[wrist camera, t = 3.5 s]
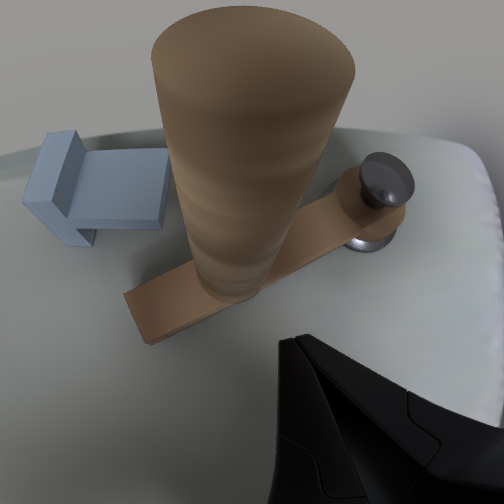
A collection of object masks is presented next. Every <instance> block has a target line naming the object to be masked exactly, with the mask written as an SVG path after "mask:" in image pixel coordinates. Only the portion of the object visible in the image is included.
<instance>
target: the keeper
mask: <svg viewBox="0 0 504 504" xmlns="http://www.w3.org/2000/svg"><path fill="white" fill-rule="evenodd" d="M170 171H171V162H170V157H169V152H168V148H144V149H116V150H97V151H86V149H85V147H84V145H83V143H82V141H81V139H80V137H79V135H78V133H77V131H76V130H70V131H61V132H53V133H47V135H46V137H45V140H44V142H43V144H42V147H41V149H40V152H39V154H38V157H37V159H36V162H35V164H34V167H33V170H32V172H31V175H30V178H29V181H28V184H27V187H26V190H25V193H24V196H23V199H22V203H23V204H24V205H25V206H26V207H27V208H28V209H29V210H30V211H31V212H32V213H33V214H34V215H35V216H36V217H37V218H38V219H39V220H40V221H41V222H42V223H43V224H44V225H45V226H46V227H47V228H48V229H49V230H50V231H51V232H52V233H53V234H54V235H55V236H56V237H57V238H59V239H60V240H61V241H62V242H63V243H64V244H65V245H66V246H86V247H92V246H93V240H94V235H95V230H96V229H140V230H162V228H163V220H164V212H165V204H166V197H167V190H168V184H169V177H170Z"/></svg>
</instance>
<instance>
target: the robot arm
mask: <svg viewBox="0 0 504 504" xmlns="http://www.w3.org/2000/svg"><path fill="white" fill-rule="evenodd" d="M267 504H504V428H498V427H494V426H490V425H487V424H485V423H482V422H479V421H476V420H474V419H471V418H468V417H466V416H463V415H460V414H458V413H455V412H453V411H450V410H448V409H445V408H443V407H441V406H438V405H436V404H434V403H432V402H430V401H428V400H426V399H424V398H422V397H420V396H418V395H416V394H414V393H412V392H411V391H407V390H406V389H405V388H403V387H401V386H399V385H398V384H396V383H394V382H392V381H390V380H389V379H387V378H385V377H383V376H381V375H380V374H378V373H376V372H374V371H372V370H371V369H369V368H367V367H365V366H364V365H362V364H360V363H358V362H357V361H355V360H353V359H351V358H350V357H348V356H346V355H344V354H343V353H341V352H339V351H337V350H336V349H334V348H332V347H331V346H329V345H327V344H325V343H324V342H322V341H320V340H319V339H317V338H315V337H314V336H312V335H310V334H304V335H300V336H296V337H295V338H288V339H284V340H280V341H279V343H278V400H277V438H276V455H275V467H274V474H273V479H272V485H271V490H270V494H269V499H268V503H267Z"/></svg>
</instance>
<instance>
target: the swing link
mask: <svg viewBox="0 0 504 504" xmlns="http://www.w3.org/2000/svg"><path fill="white" fill-rule="evenodd" d="M151 55H152V56H151V60H152V66H153V72H154V78H155V84H156V90H157V95H158V101H159V106H160V112H161V117H162V122H163V128H164V133H165V138H166V143H167V147H168V152H169V157H170V162H171V167H172V171H173V176H174V180H175V185H176V189H177V194H178V198H179V203H180V207H181V211H182V215H183V220H184V224H185V228H186V232H187V236H188V240H189V244H190V248H191V252H192V256H193V259H192V260H190V261H188V262H186V263H184V264H182V265H180V266H178V267H176V268H174V269H172V270H170V271H168V272H166V273H164V274H162V275H160V276H158V277H156V278H154V279H152V280H150V281H148V282H146V283H144V284H142V285H140V286H138V287H136V288H134V289H132V290H130V291H128V292H126V293H124V294H123V295H124V297H125V300H126V302H127V304H128V307H129V309H130V311H131V314H132V316H133V318H134V320H135V323H136V325H137V327H138V329H139V331H140V333H141V336H142V338H143V340H144V342H145V343H146V344H149V345H153V344H155V343H157V342H159V341H162V340H164V339H166V338H168V337H170V336H172V335H174V334H176V333H178V332H180V331H182V330H184V329H186V328H188V327H190V326H192V325H194V324H196V323H198V322H200V321H201V320H203V319H205V318H207V317H209V316H211V315H213V314H215V313H217V312H219V311H221V310H223V309H225V308H227V307H229V306H231V305H233V304H235V303H240V302H244V301H246V300H249V299H250V298H252V297H254V296H255V295H256V294H257V293H258V292H259V291H260V290H261V289H263V288H265V287H267V286H269V285H271V284H272V283H274V282H276V281H278V280H280V279H282V278H284V277H285V276H287V275H289V274H291V273H293V272H295V271H296V270H298V269H300V268H302V267H304V266H306V265H307V264H309V263H311V262H313V261H315V260H317V259H318V258H320V257H322V256H324V255H326V254H327V253H329V252H331V251H333V250H334V249H336V248H338V247H340V246H342V245H343V244H345V243H347V242H349V241H350V240H352V239H354V238H355V239H357V240H360V241H363V242H377V241H380V240H383V239H384V238H386V237H387V236H388V235H389V234H390V233H392V232H393V231H394V230H395V229H396V228H397V227H398V226H399V225H400V224H401V222H402V221H403V218H404V215H405V204H404V205H402V206H400V207H394V208H392V207H385V208H384V209H380V210H377V209H373V208H371V207H369V206H368V205H367V204H365V202H364V201H363V200H362V198H361V195H360V188H361V186H362V185H361V183H360V180H359V169H360V166H357V167H353V168H350V169H348V170H347V171H346V172H344V173H343V174H342V176H341V177H340V179H339V181H338V182H337V184H336V186H335V188H334V189H333V191H332V193H331V194H329V195H327V196H325V197H322V198H320V199H318V200H316V201H314V202H312V203H310V204H307V205H305V206H303V207H301V208H299V206H300V204H301V201H302V199H303V197H304V195H305V192H306V190H307V188H308V186H309V183H310V181H311V179H312V176H313V174H314V172H315V170H316V167H317V165H318V163H319V160H320V158H321V156H322V154H323V151H324V149H325V147H326V144H327V142H328V140H329V137H330V135H331V133H332V130H333V128H334V126H335V123H336V121H337V118H338V116H339V114H340V111H341V109H342V107H343V104H344V102H345V100H346V97H347V95H348V92H349V90H350V88H351V85H352V83H353V80H354V77H355V64H354V60H353V58H352V56H351V54H350V52H349V51H348V49H347V48H346V46H345V45H344V44H343V43H342V42H341V41H340V40H339V39H338V38H337V37H336V36H335V35H333V34H332V33H331V32H329V31H328V30H327V29H325V28H324V27H322V26H320V25H318V24H317V23H315V22H313V21H311V20H309V19H306V18H304V17H301V16H299V15H296V14H293V13H290V12H286V11H282V10H278V9H272V8H266V7H257V6H229V7H220V8H214V9H209V10H205V11H201V12H198V13H195V14H192V15H190V16H187V17H185V18H183V19H181V20H179V21H177V22H175V23H174V24H172V25H171V26H170V27H168V28H167V29H166V30H165V31H164V32H163V33H162V34H161V35H160V36H159V37H158V38H157V40H156V42H155V44H154V46H153V49H152V54H151ZM298 208H299V209H298Z"/></svg>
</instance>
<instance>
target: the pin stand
mask: <svg viewBox="0 0 504 504" xmlns="http://www.w3.org/2000/svg"><path fill="white" fill-rule="evenodd" d="M359 180H360V183H361V185H362V186H361V188H360V195H361V198H362V200H363V201H364V202H365V204H367V205H368V206H369V207H371V208H373V209H377V210H380V209H384V208H385V207H392V208H394V207H400V206H402V205H404V204H405V203H406V202H407V201H408V200H409V199H410V198H411V196H412V195H413V193H414V189H415V184H414V179H413V176H412V174H411V172H410V170H409V169H408V168H407V166H406V165H405V164H404V163H403V162H402V161H401V160H399V159H398V158H396V157H395V156H393V155H390V154H388V153H383V152H375V153H372V154H370V155H368V156H367V157H366V158H365V160H364V161H363V163H362V165H361V166H360V169H359ZM338 181H339V179H338V180H336V181H334V182H333V183H332V184H331V185H330V186H329V187H328V188H327V190H326V192H325V193H324V195H323V197H325V196H327V195H329V194H331V193H332V191H333V189H334V188H335V186H336V184H337V182H338ZM396 230H397V228H396V229H395V230H394V231H393V232H392V233H390V234H389V235H388V236H387V237H386V238H384V239H383V240H380V241H377V242H363V241H360V240H357V239H355V238H354V239H352V240H350V241H349V242H347V243H345V244H343V246H345V247H347V248H349V249H351V250H354V251H357V252H363V253H369V252H375V251H378V250H380V249H382V248H383V247H385V246H386V245H387V244H388V243H389V242H390V241H391V240H392V239H393V237H394V235H395V233H396Z"/></svg>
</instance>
